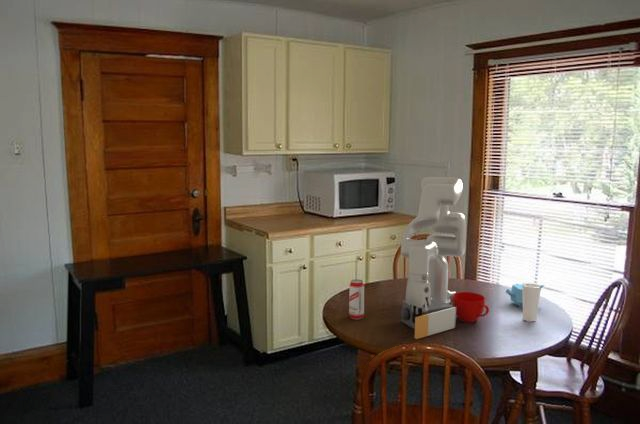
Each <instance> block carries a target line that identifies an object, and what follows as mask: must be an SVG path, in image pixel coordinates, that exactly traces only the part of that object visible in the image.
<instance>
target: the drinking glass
mask: <svg viewBox="0 0 640 424" xmlns="http://www.w3.org/2000/svg"><path fill="white" fill-rule="evenodd" d="M525 283H526V282H525ZM522 284H523V283H522ZM540 296H541V291H540V285H539V284H537V283H536V284H535V283H531V282H530V283H529V282H528V283H526V284H523V293H522V297H523V308H522V320H524V321H525V322H528V323H529V322H530V323H531V322H536V321H537V316H538V309H539V303H540Z"/></svg>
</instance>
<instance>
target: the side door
mask: <svg viewBox="0 0 640 424" xmlns="http://www.w3.org/2000/svg"><path fill="white" fill-rule="evenodd" d="M456 322H457V315H456V307H452V308H448V309H445V310H441V311H437V312H433V313H429V314H426V315H422V316H418V317H415V329H414V340H415V339H416V340H418V339H422V338H425V337H428V336H432V335H435V334H439V333H442V332H445V331H446V332H447V331H449V330H453V329H456V326H457V325H456Z"/></svg>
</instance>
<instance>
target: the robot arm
mask: <svg viewBox="0 0 640 424" xmlns="http://www.w3.org/2000/svg"><path fill="white" fill-rule="evenodd" d="M421 190H422V191H421V196H420V202H419V208H418V213H417V214H418V215H417V216H416V217H415V218H414V219H413V220H411V221H410V222H409V223H408V225H407V226H406V227H405V229H404V231H403V235H402V239H401V243H400V254H401V256H402V257H404V258H405V259H408V274H407V275H408V276H407V280H406V288H405V300H406V301H407V304H408V305H409V306H410V307H411V310H412V313H413V318H412V322H413V323H415V317H418V316H422V313H423V312H426V311H428V307H430V306H431V296H433V297H435V298H437V299H439V300H441V301H443V302H446V303H448V304H450V303H451V297H453V295H454V294H455V293H457V292H456V291H450V290H449V289H448V286H449V262H448V261H447V259H446V258H445V257H447V256H448V257H457V258H458V257H460V258H461V257H462V256H464V255H465V252H466V244H467V243H466V242H467V241H466V240H467V235H466V234H467V225H466V224H467V221H466V217H465V215H464V214H463V213H462V212H457V211H456V212H455V211H454V212H453V211H450V209H449V208H450V207H449V206H455V205H456V204H457V203H458V201H459V199H460V198H461V196H462V193H463V182H462V179H460V178H457V177H441V176H439V177H437V176H428V177H423V178H422V179H421ZM428 227H429V229H430V231H432V232H434V233H433V234H430V235H428V236H427V238H426V240H423V239H422V240H421V239H412V237H413V236H414V234H415V233H416V232H418V231H420V230H422V229H425V228H428ZM442 233H443V234H442ZM427 306H428V307H427ZM419 308H420V309H419Z"/></svg>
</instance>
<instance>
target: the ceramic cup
mask: <svg viewBox="0 0 640 424" xmlns="http://www.w3.org/2000/svg"><path fill="white" fill-rule="evenodd" d="M485 302H486V297H485V296H484V295H483V294H479V293H476V292H469V291H460V292H456V293H455V294H454V295H453V296H452V306H453V307H456V317H458V319H459V320H460V321H462V322H464V323H474V322H476V321H477V320H478V319H479V318H480V317H485V316H487V315H488V314H489V312H490V308H489V306H488V305H487V304H485ZM484 308H485V313H484V314H483V311H484Z"/></svg>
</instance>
